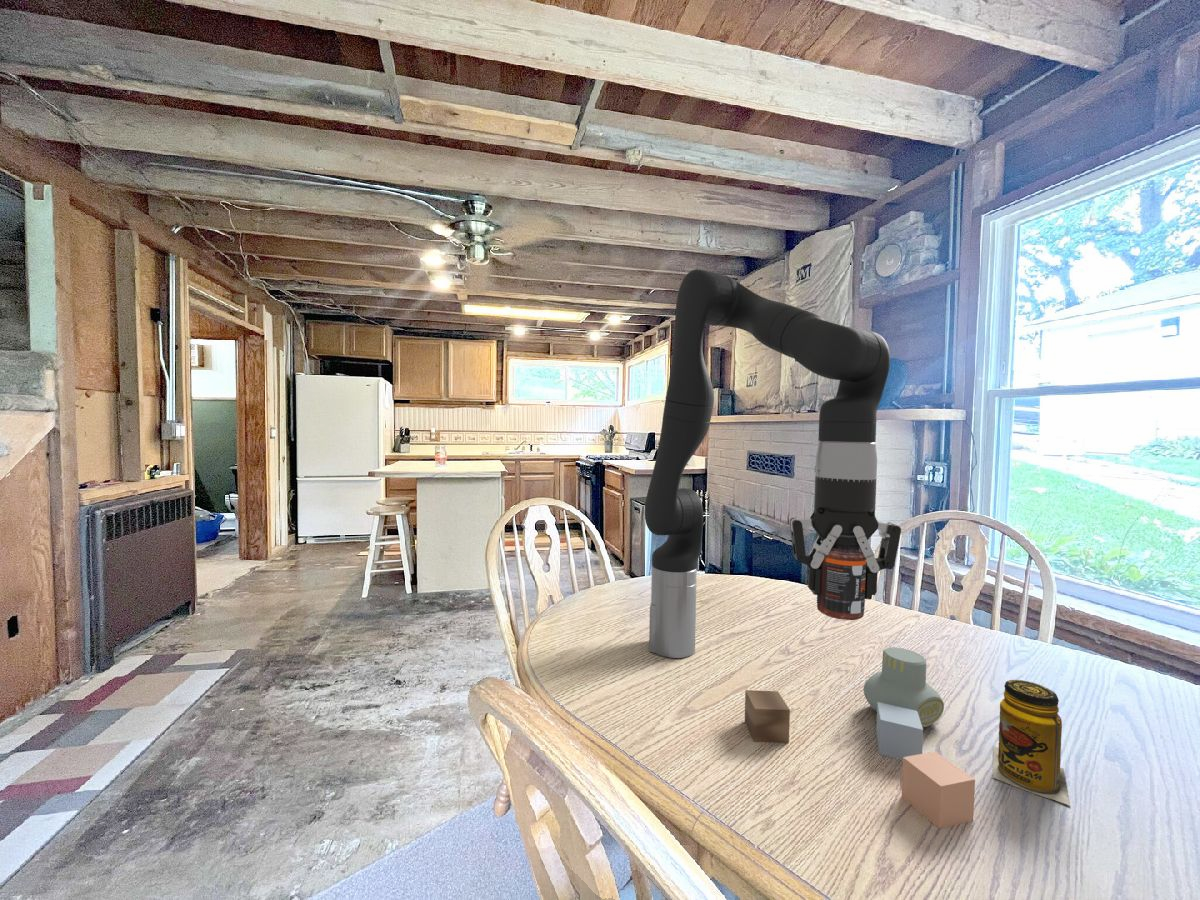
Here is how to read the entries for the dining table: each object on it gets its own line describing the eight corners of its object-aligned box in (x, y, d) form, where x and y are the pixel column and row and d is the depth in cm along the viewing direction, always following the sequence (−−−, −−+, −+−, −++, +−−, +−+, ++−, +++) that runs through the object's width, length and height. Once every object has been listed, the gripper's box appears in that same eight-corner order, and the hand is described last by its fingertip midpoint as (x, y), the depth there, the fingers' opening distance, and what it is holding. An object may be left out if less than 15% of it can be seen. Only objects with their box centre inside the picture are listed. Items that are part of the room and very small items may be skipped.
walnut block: (754, 742, 69) (755, 708, 69) (744, 721, 74) (745, 690, 74) (788, 743, 69) (789, 709, 69) (777, 722, 74) (777, 691, 74)
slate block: (879, 754, 67) (880, 719, 67) (876, 734, 71) (877, 701, 71) (921, 765, 65) (923, 729, 65) (915, 744, 69) (917, 710, 69)
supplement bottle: (870, 624, 63) (874, 539, 62) (822, 620, 64) (825, 536, 64) (856, 608, 69) (859, 530, 68) (812, 604, 70) (814, 527, 69)
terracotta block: (939, 829, 54) (941, 786, 54) (901, 796, 59) (903, 757, 59) (973, 821, 56) (975, 779, 55) (933, 789, 60) (935, 751, 60)
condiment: (992, 779, 62) (996, 689, 62) (993, 747, 69) (996, 665, 68) (1070, 808, 58) (1075, 710, 57) (1063, 770, 64) (1067, 683, 64)
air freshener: (904, 739, 70) (907, 673, 70) (854, 709, 78) (856, 649, 77) (950, 723, 75) (953, 660, 74) (899, 696, 82) (901, 639, 82)
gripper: (795, 475, 63) (791, 600, 64) (915, 479, 61) (909, 609, 61) (784, 471, 71) (781, 583, 71) (891, 474, 68) (886, 591, 69)
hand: (840, 594), depth 66 cm, fingers closed on supplement bottle, 6 cm apart
